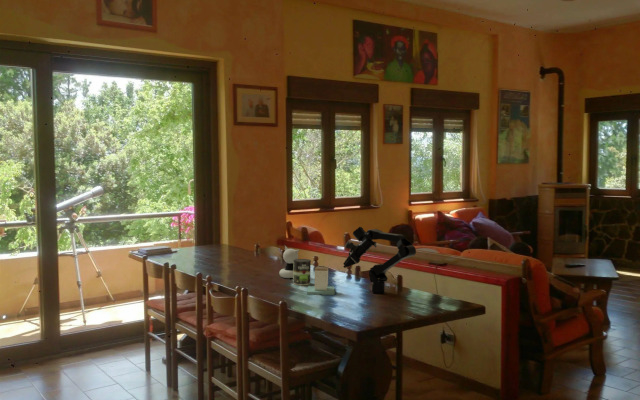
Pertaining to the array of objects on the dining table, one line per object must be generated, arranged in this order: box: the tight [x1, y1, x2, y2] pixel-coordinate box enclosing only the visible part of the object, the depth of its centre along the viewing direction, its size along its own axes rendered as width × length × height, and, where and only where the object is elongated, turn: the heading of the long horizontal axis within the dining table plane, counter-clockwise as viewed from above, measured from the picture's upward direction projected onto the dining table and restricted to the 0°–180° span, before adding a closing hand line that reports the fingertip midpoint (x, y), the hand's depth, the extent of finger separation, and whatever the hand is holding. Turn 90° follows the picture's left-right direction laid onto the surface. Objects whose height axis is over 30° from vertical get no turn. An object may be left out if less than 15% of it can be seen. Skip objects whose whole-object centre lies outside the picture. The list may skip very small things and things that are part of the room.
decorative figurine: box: [279, 245, 300, 279], centre depth 364 cm, size 15×15×20 cm
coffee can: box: [292, 258, 312, 286], centre depth 344 cm, size 10×10×14 cm
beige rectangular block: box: [314, 266, 329, 291], centre depth 324 cm, size 7×7×12 cm
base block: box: [306, 285, 335, 296], centre depth 324 cm, size 15×15×2 cm
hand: (343, 265), depth 329 cm, fingers open, 9 cm apart
